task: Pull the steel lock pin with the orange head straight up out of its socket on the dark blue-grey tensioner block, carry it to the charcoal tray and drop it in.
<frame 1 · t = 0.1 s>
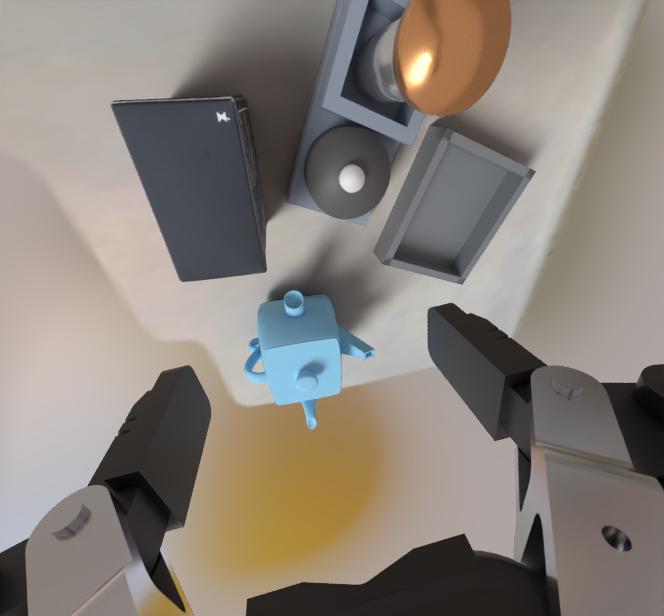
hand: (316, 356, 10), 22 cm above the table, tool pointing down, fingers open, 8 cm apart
small box: (221, 169, 26), on the table
lock pin: (377, 69, 22), point 2 cm above the table, touching tensioner block
tensioner block: (369, 71, 24), on the table
teapot: (302, 322, 37), on the table
tray: (440, 210, 32), on the table
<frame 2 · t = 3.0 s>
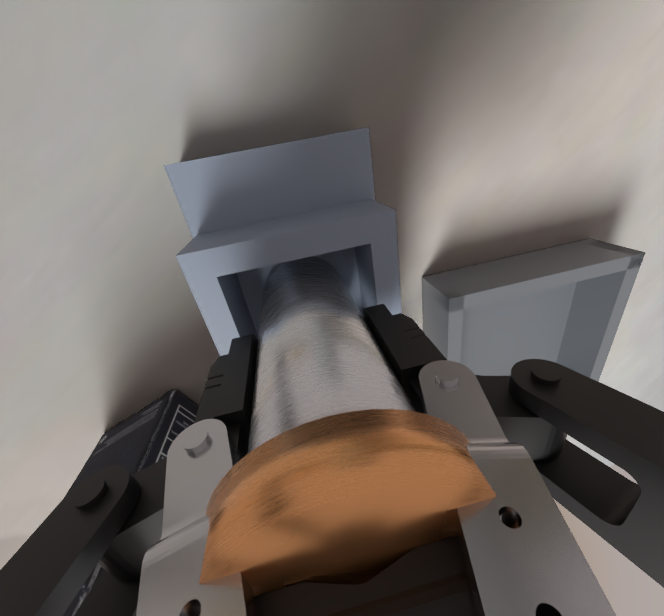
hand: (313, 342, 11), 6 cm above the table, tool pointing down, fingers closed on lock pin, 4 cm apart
small box: (197, 448, 21), on the table
lock pin: (304, 294, 14), point 2 cm above the table, touching gripper, tensioner block
tensioner block: (301, 279, 16), on the table
tray: (496, 343, 21), on the table
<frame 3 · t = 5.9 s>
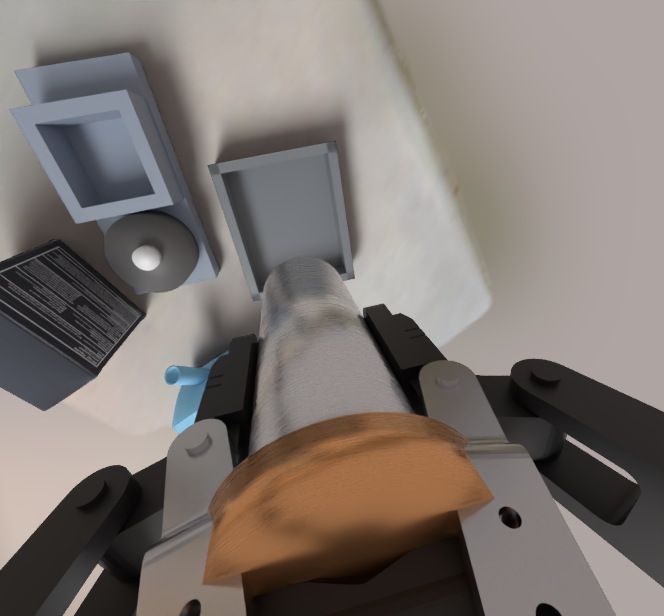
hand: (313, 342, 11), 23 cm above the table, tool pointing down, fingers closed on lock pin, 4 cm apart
small box: (85, 294, 31), on the table
lock pin: (304, 295, 14), point 18 cm above the table, touching gripper
tensioner block: (129, 161, 26), on the table
teapot: (243, 375, 38), on the table
tray: (289, 222, 30), on the table
when the fingers open (6 cm above the table, at t = 8.7 s): lock pin drops 1 cm, resting on tray.
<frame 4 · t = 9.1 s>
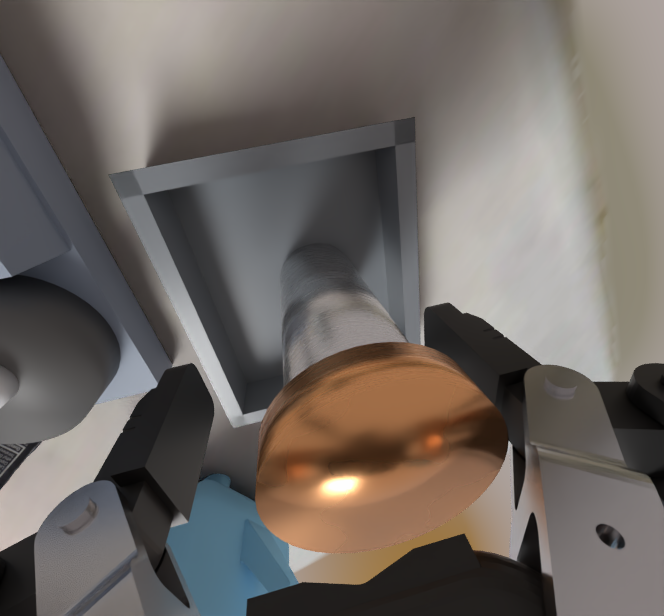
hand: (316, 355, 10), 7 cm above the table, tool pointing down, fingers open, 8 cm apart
lock pin: (317, 280, 16), point 1 cm above the table, touching tray
teapot: (223, 503, 24), on the table
tray: (300, 279, 16), on the table
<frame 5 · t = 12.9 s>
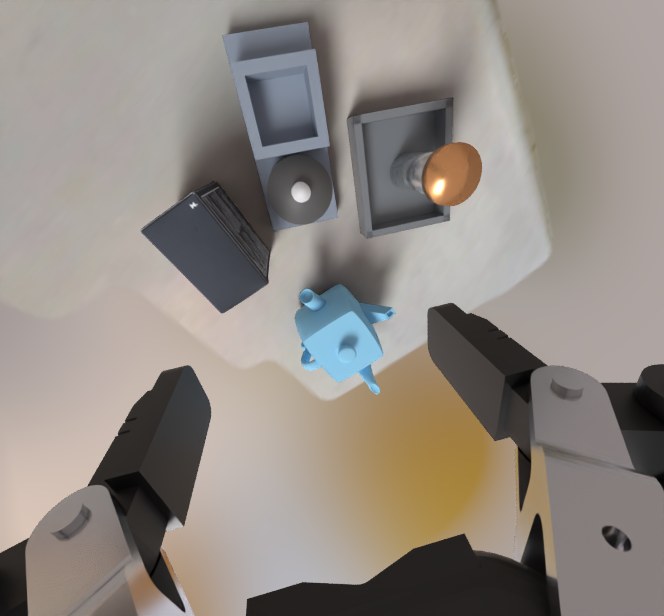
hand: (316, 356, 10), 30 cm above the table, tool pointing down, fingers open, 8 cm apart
small box: (225, 233, 36), on the table
lock pin: (405, 171, 36), point 1 cm above the table, touching tray
tensioner block: (282, 114, 32), on the table
teapot: (337, 313, 44), on the table
tray: (396, 172, 36), on the table
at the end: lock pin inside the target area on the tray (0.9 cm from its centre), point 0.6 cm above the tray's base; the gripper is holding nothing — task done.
